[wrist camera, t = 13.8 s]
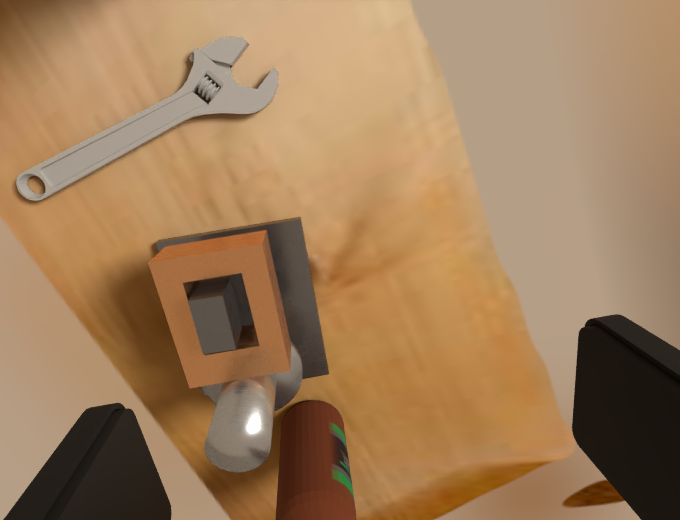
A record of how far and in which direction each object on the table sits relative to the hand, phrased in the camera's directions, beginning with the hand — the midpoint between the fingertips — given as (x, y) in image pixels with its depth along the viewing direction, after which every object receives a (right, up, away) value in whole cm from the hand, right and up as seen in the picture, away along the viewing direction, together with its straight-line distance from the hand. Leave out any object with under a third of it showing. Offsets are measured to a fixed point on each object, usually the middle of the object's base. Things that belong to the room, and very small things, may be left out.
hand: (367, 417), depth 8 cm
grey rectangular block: (-11, +2, +32) cm, 33 cm away
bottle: (-4, -16, +40) cm, 43 cm away
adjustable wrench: (-18, +16, +28) cm, 37 cm away
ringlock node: (-10, -2, +34) cm, 35 cm away
